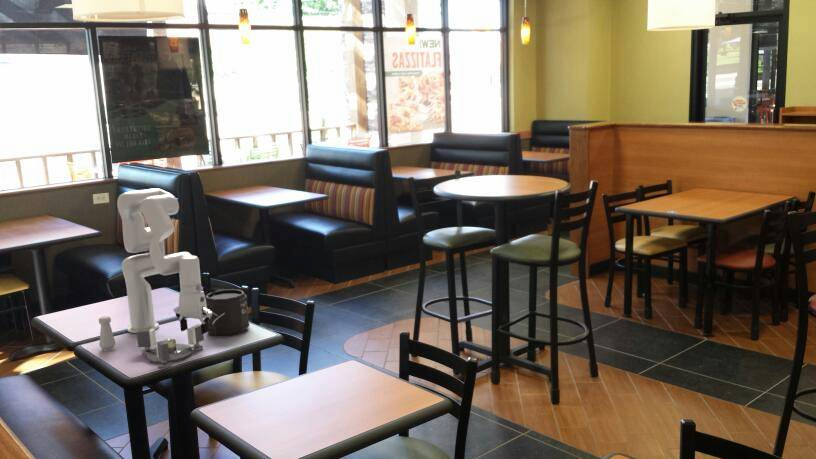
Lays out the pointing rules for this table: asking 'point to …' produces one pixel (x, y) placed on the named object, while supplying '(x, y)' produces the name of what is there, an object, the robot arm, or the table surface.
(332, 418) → the table surface
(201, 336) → the knob near left
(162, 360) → the knob front
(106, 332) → the salt shaker
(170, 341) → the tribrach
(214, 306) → the wooden barrel
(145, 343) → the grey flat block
